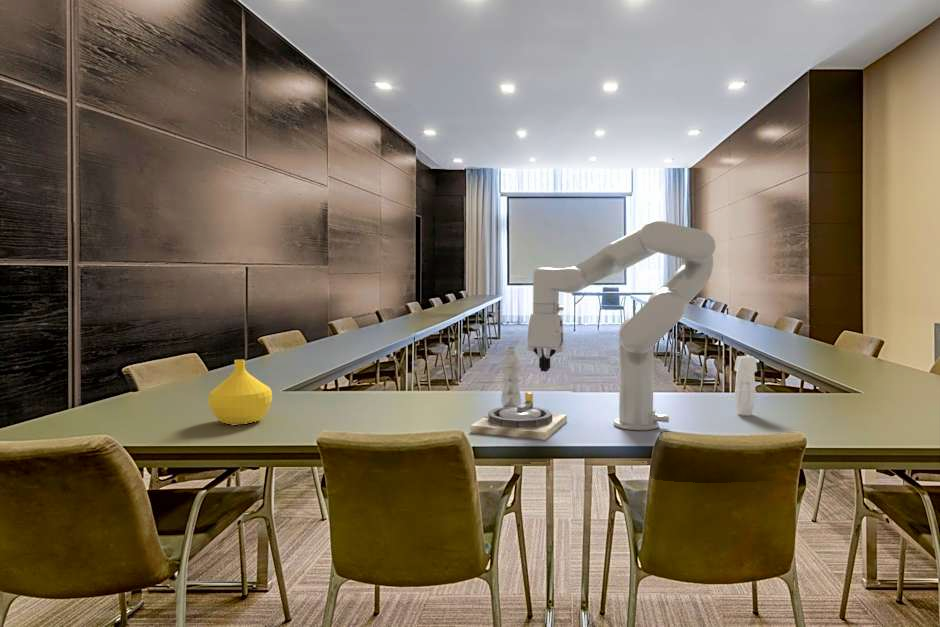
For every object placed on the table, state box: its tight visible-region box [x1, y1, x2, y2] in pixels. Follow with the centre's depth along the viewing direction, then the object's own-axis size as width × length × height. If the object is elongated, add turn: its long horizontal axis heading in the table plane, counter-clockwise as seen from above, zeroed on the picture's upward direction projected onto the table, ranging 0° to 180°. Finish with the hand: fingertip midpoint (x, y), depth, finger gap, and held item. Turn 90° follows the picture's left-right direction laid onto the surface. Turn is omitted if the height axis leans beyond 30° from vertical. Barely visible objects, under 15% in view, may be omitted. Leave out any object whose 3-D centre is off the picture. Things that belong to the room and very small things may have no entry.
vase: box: [208, 359, 273, 425], centre depth 193 cm, size 18×18×19 cm
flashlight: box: [733, 355, 758, 417], centre depth 194 cm, size 7×18×7 cm
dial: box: [499, 391, 541, 419], centre depth 184 cm, size 16×12×6 cm
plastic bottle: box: [500, 346, 522, 407], centre depth 208 cm, size 6×7×20 cm
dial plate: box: [469, 406, 568, 441], centre depth 183 cm, size 22×22×4 cm
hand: (544, 370), depth 187 cm, fingers closed
